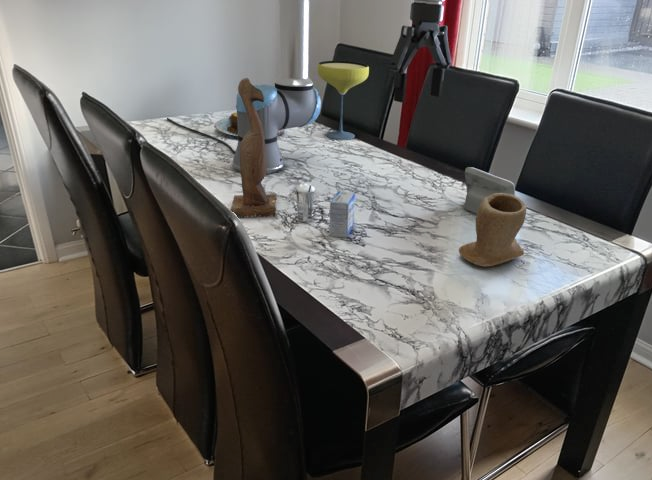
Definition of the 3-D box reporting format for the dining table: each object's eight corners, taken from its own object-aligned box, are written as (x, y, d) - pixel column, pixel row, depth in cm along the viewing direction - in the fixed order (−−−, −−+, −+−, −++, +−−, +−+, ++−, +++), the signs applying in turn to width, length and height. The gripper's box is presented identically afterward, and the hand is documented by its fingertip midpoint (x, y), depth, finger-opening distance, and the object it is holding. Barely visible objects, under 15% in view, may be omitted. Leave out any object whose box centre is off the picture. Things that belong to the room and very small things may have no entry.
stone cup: (487, 277, 121) (500, 211, 114) (450, 255, 130) (460, 191, 122) (537, 263, 128) (552, 199, 121) (499, 242, 137) (511, 182, 130)
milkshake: (301, 225, 140) (301, 186, 135) (292, 217, 144) (292, 179, 139) (318, 223, 142) (319, 184, 137) (309, 215, 146) (310, 177, 141)
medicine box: (347, 238, 135) (349, 203, 130) (328, 236, 135) (329, 201, 131) (353, 225, 141) (355, 192, 137) (336, 223, 142) (337, 190, 138)
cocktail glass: (335, 127, 225) (338, 59, 213) (374, 136, 216) (379, 65, 204) (306, 135, 212) (307, 63, 200) (345, 145, 203) (349, 70, 191)
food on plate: (293, 127, 221) (294, 110, 218) (271, 144, 200) (271, 125, 197) (231, 120, 226) (231, 103, 222) (203, 135, 204) (202, 117, 201)
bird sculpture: (279, 218, 143) (277, 83, 127) (231, 218, 141) (223, 82, 125) (276, 201, 153) (275, 75, 137) (231, 202, 151) (225, 73, 135)
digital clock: (518, 220, 150) (526, 181, 145) (490, 225, 146) (498, 185, 141) (480, 199, 162) (486, 162, 157) (454, 203, 159) (459, 165, 154)
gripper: (403, 3, 121) (394, 107, 131) (473, 3, 136) (460, 96, 147) (377, 0, 126) (371, 100, 136) (448, 1, 141) (437, 91, 151)
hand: (417, 98), depth 141 cm, fingers open, 13 cm apart
